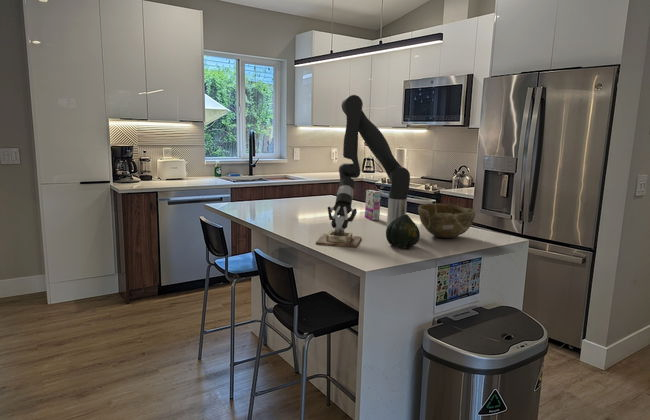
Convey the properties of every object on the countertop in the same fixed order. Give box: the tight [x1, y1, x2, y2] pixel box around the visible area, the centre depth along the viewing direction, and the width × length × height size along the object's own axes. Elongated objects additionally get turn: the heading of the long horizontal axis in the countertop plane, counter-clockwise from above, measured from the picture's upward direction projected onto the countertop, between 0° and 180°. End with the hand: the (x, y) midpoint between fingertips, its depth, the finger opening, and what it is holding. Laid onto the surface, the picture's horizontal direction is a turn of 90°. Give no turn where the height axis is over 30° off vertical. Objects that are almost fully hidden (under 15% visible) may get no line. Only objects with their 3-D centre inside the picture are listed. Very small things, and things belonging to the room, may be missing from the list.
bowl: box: [417, 203, 476, 239], centre depth 220 cm, size 28×27×15 cm
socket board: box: [315, 230, 362, 249], centre depth 204 cm, size 18×18×4 cm
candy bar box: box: [364, 189, 382, 221], centre depth 260 cm, size 11×5×16 cm, turn 17°
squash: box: [385, 213, 421, 250], centre depth 199 cm, size 14×15×15 cm
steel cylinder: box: [333, 215, 345, 236], centre depth 203 cm, size 4×4×9 cm
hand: (339, 227), depth 201 cm, fingers closed on steel cylinder, 4 cm apart
